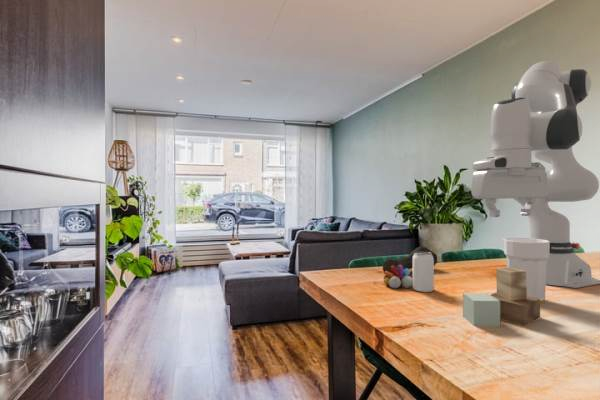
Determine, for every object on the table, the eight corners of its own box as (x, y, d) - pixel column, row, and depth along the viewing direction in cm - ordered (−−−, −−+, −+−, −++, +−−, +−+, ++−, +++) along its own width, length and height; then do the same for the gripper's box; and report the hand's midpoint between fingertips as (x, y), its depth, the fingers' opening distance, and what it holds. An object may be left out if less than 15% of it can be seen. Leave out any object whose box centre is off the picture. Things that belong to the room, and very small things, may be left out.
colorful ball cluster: (380, 283, 116) (379, 262, 116) (406, 282, 117) (406, 261, 117) (388, 290, 108) (388, 267, 108) (417, 289, 108) (417, 267, 108)
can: (435, 293, 103) (435, 255, 103) (414, 292, 104) (413, 254, 104) (431, 287, 110) (431, 251, 109) (411, 286, 111) (411, 251, 111)
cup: (494, 296, 100) (494, 238, 100) (518, 291, 104) (518, 236, 104) (533, 307, 89) (533, 243, 89) (558, 301, 94) (558, 241, 94)
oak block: (511, 294, 86) (511, 267, 86) (526, 299, 81) (526, 271, 81) (496, 295, 85) (496, 268, 85) (511, 300, 81) (510, 272, 81)
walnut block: (501, 308, 89) (501, 290, 89) (540, 318, 82) (540, 298, 82) (485, 316, 84) (485, 296, 84) (525, 327, 77) (525, 306, 77)
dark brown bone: (423, 270, 143) (387, 291, 124) (411, 248, 146) (374, 265, 127) (444, 262, 136) (410, 282, 117) (431, 239, 139) (395, 255, 120)
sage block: (487, 317, 83) (487, 293, 83) (500, 326, 77) (500, 301, 77) (462, 316, 83) (462, 293, 83) (473, 326, 78) (473, 300, 77)
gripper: (533, 163, 89) (533, 214, 89) (467, 163, 85) (467, 216, 85) (556, 161, 83) (556, 215, 83) (485, 161, 79) (485, 218, 79)
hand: (510, 216), depth 84 cm, fingers open, 8 cm apart
